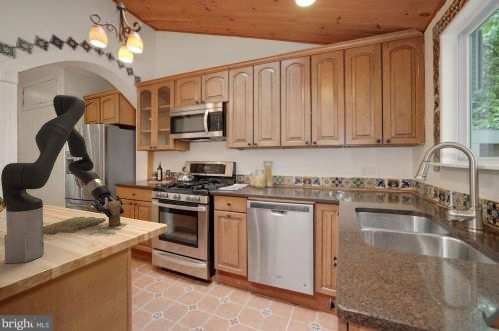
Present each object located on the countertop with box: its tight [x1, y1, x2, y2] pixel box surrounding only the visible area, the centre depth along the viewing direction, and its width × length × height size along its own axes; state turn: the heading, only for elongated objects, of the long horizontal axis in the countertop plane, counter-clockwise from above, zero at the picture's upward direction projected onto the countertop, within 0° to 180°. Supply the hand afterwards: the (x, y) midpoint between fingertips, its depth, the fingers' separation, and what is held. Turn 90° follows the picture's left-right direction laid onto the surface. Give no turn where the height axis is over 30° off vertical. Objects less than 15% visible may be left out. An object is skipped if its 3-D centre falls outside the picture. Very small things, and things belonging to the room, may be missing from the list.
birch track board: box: [86, 222, 130, 237], centre depth 110 cm, size 19×11×1 cm, turn 8°
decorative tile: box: [43, 216, 107, 235], centre depth 115 cm, size 19×20×4 cm
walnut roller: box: [107, 201, 121, 227], centre depth 115 cm, size 5×5×12 cm
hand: (116, 214), depth 115 cm, fingers open, 6 cm apart
